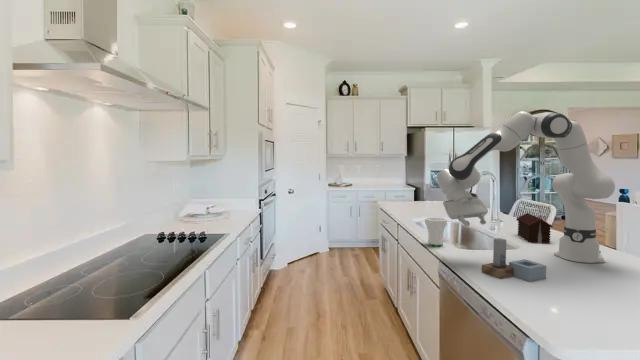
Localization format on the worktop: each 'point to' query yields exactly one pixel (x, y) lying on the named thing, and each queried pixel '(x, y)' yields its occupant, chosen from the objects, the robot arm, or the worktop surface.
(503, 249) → the tall brushed metal pillar
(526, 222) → the model building
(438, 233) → the cup
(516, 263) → the block
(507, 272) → the socket block
